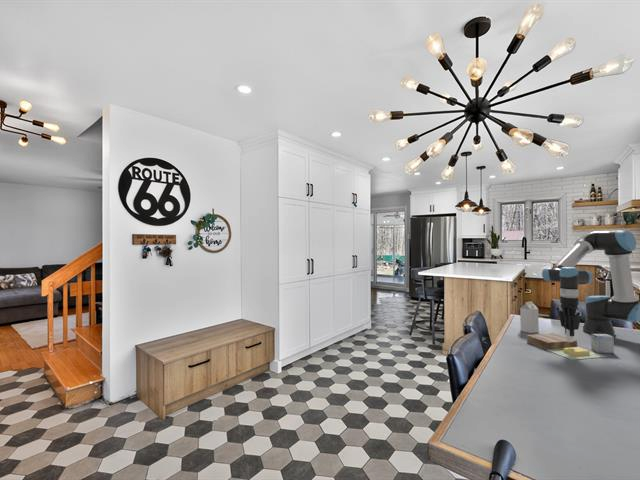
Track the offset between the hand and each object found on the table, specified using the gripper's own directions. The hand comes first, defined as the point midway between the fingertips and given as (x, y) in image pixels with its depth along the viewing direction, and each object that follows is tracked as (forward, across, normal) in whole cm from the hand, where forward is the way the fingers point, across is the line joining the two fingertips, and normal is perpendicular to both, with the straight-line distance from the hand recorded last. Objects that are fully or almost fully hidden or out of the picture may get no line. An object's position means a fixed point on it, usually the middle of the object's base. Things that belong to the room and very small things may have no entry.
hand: (569, 341), depth 164 cm
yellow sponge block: (+3, +3, 0) cm, 4 cm away
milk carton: (+5, -36, +10) cm, 38 cm away
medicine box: (+6, +3, +16) cm, 18 cm away
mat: (+5, +3, 0) cm, 6 cm away
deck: (+5, -11, 0) cm, 12 cm away
